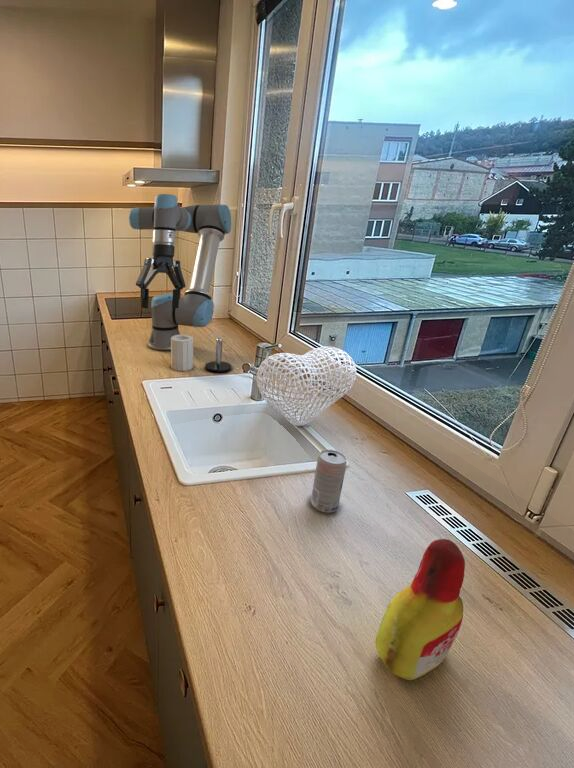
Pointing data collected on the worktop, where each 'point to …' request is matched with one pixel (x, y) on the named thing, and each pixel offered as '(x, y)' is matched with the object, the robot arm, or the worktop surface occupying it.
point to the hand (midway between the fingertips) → (160, 308)
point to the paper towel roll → (182, 352)
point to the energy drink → (328, 480)
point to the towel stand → (218, 361)
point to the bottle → (424, 614)
